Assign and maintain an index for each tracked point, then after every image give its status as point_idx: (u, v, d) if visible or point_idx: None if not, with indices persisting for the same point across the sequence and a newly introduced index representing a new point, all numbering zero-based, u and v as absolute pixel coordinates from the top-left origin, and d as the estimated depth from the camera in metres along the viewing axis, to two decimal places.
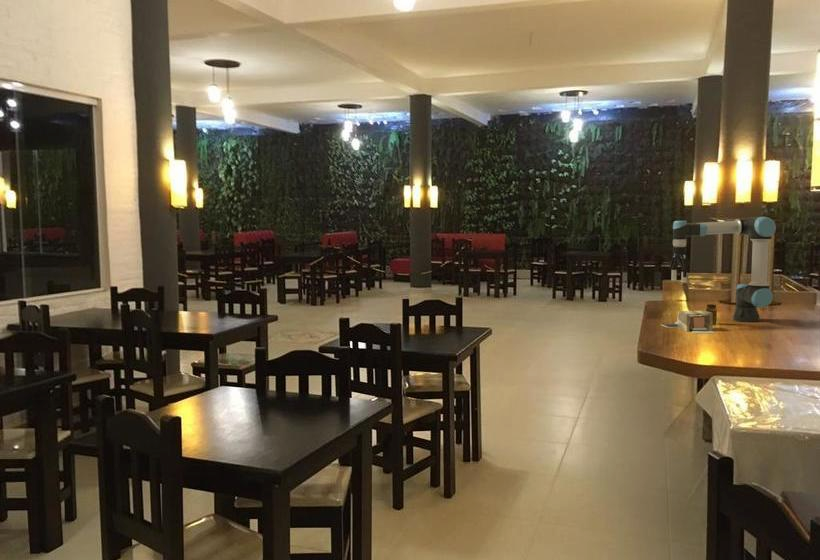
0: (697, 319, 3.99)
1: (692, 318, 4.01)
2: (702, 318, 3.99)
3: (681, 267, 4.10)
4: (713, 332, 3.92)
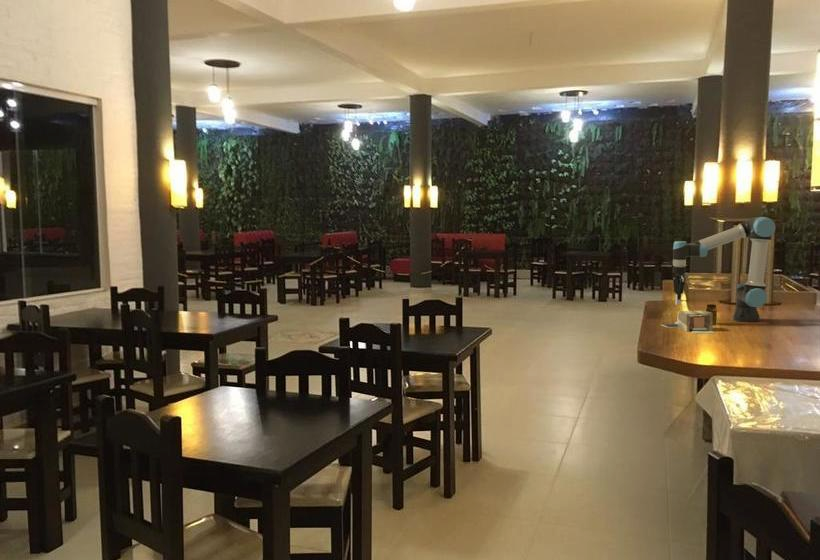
0: (697, 319, 3.99)
1: (692, 318, 4.01)
2: (702, 318, 3.99)
3: (677, 288, 4.24)
4: (713, 332, 3.92)
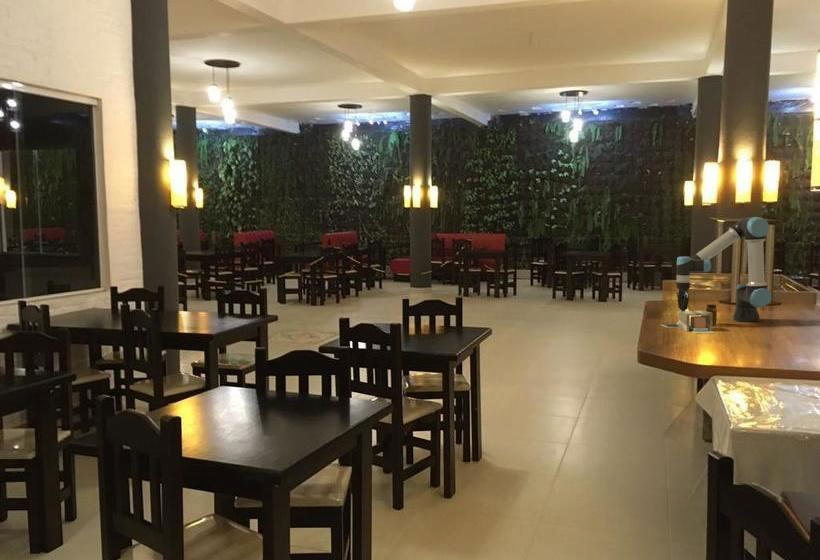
0: (698, 319, 3.98)
1: (693, 318, 4.00)
2: (703, 318, 3.98)
3: (681, 304, 4.19)
4: (713, 332, 3.92)
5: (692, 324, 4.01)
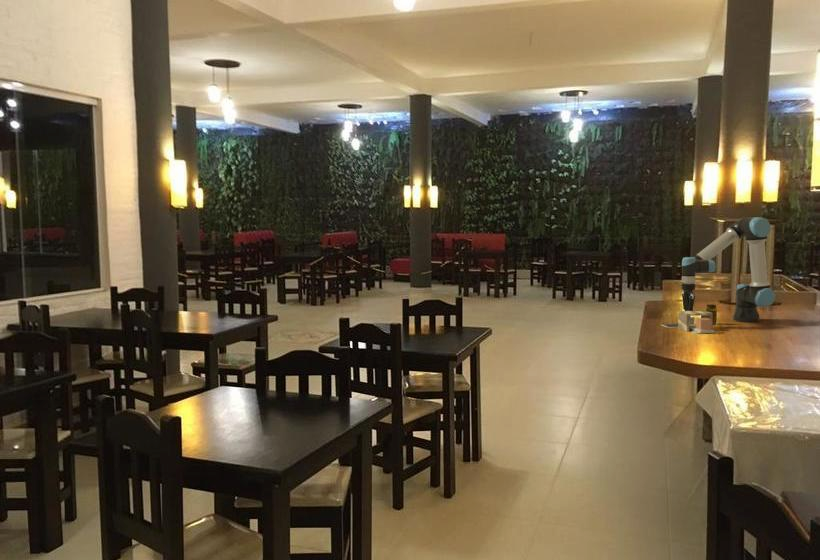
0: (704, 321, 3.90)
1: (699, 320, 3.92)
2: (709, 320, 3.91)
3: (686, 306, 4.12)
4: None
5: (698, 326, 3.94)
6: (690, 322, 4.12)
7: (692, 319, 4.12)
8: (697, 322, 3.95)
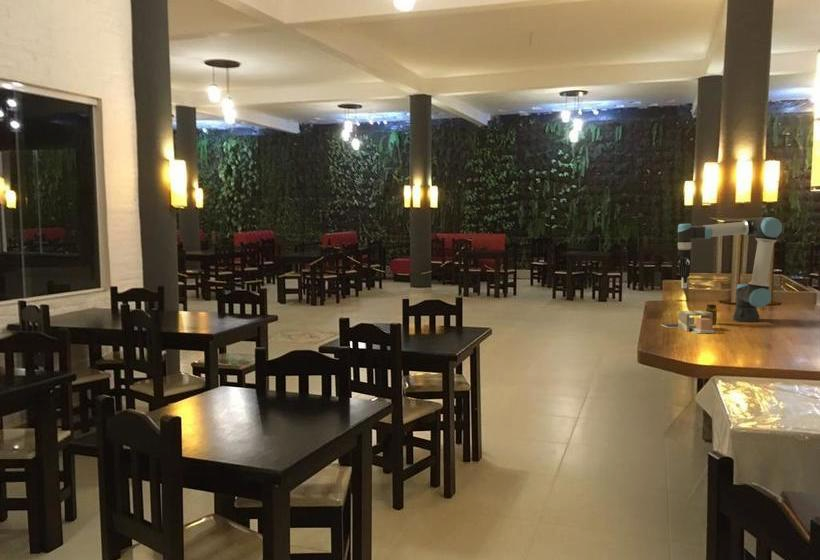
0: (704, 321, 3.90)
1: (699, 320, 3.92)
2: (709, 320, 3.91)
3: (683, 272, 4.18)
4: None
5: (698, 326, 3.94)
6: (690, 322, 4.12)
7: (692, 319, 4.12)
8: (697, 322, 3.95)
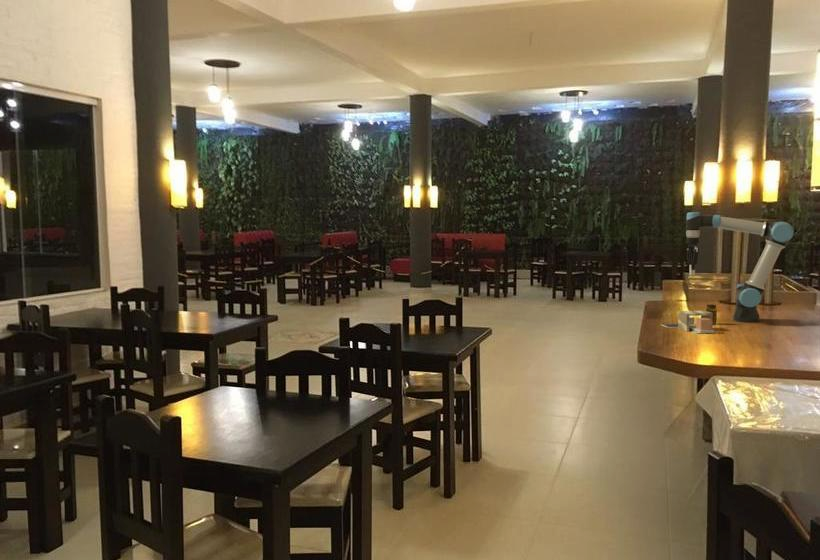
0: (704, 321, 3.90)
1: (699, 320, 3.92)
2: (709, 320, 3.91)
3: (691, 259, 4.27)
4: None
5: (698, 326, 3.94)
6: (690, 322, 4.12)
7: (692, 319, 4.12)
8: (697, 322, 3.95)
